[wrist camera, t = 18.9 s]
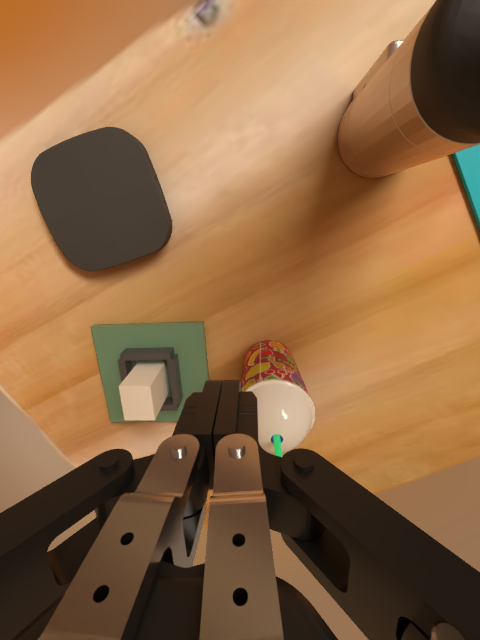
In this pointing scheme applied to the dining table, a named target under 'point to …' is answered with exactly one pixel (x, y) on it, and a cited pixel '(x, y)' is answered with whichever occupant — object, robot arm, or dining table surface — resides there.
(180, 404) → the green insertion board
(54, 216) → the media streaming box
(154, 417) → the plug
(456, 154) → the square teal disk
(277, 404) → the smoothie
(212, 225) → the dining table surface
